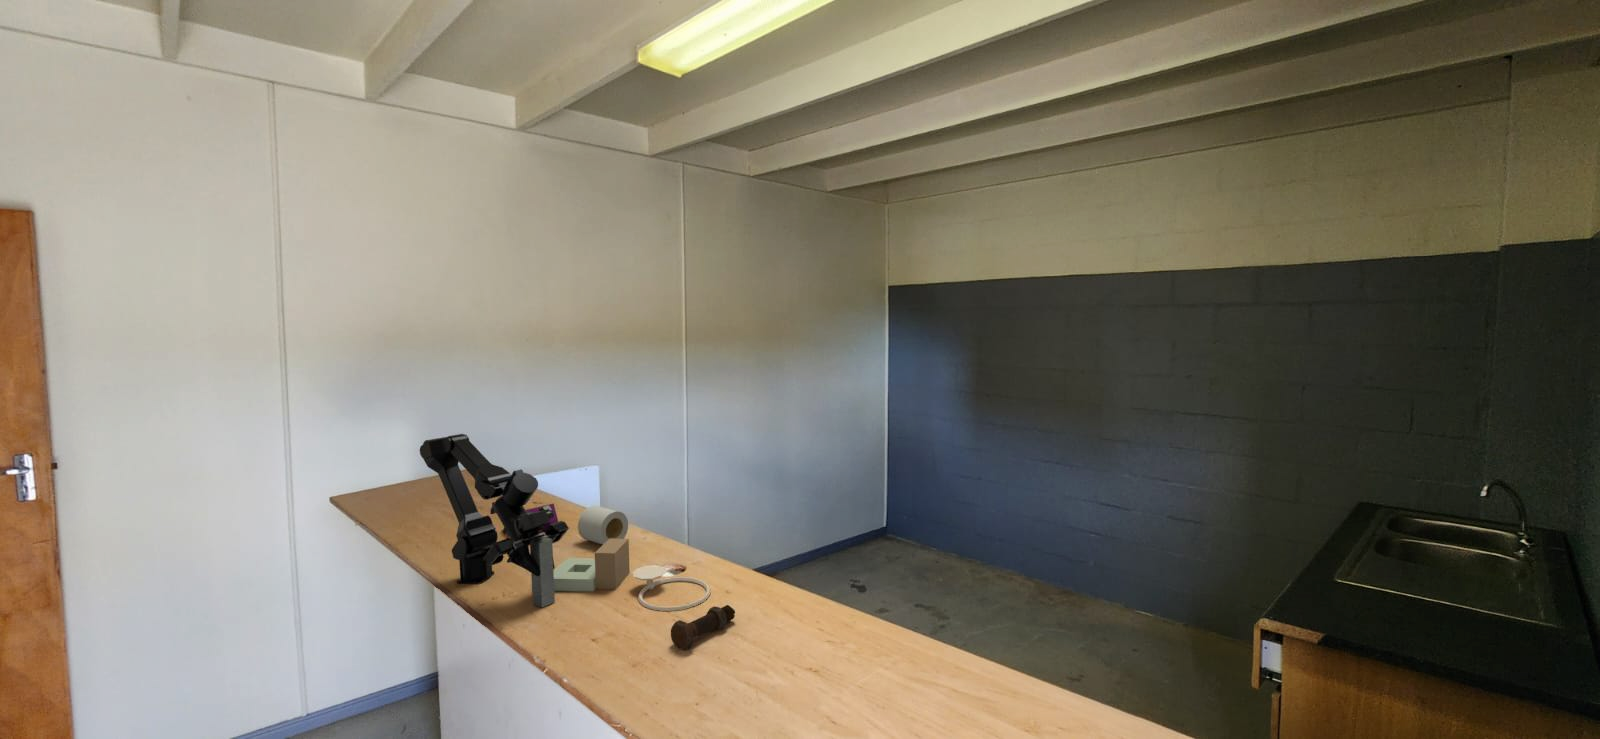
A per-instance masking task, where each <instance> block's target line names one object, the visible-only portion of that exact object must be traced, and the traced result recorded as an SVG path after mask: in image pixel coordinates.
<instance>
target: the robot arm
mask: <svg viewBox="0 0 1600 739" xmlns="http://www.w3.org/2000/svg"><path fill="white" fill-rule="evenodd" d="M419 454H420V456H421V458H422V459H423V461H424V463H425V464H426V467H428V468H429V469H430V470H432V471H434V472H435V473H437V475H438V477H439V479H440V481H441V484H442V486H443V489H444V491H445V493H446V496H447V498H448V500H449V502H450V505H451V507H452V510H453V512H454V514H455V518H456V520H457V522H458V526H457V532H456V539H457V541H456V542H455V544H454V545H453V547H452V549H451V555H452V557H453V559H455V560H457V561H459V577H460V578H458V579H457V580H456V583H458V584H483V582H485V581H486V580H487V579H489V578H490V577H491V576H493V575H494V574H495V571H494V570H493V566H495V565H497V564H500V563H502V562H503V559H504V558H505V557H504V555H507V557H508V559H507V560H506V563H507V564H510V563H512V564H514V565H516V566H518V567H521V568H522V569H524V570H526V571H527V572H529V573H530V574H531V573H532V574H534V575H536V576H539V575H540V574H541V573H540V571H539V569H538V567H537V565H536V563H535V561H534V560H533V558H532V556H531V555H530V541H531V540H534V539H537V538H540V537H542V536H543V537H547V538H550V539H552V545H553V544H555V543H558V542H559V541H561V539H562V538H563V537H564V536H565V534H566V533H567V531H568V530H569V529H570V527H569V526H568V525H567V522H565V521H564V520H563V521H562V520H560V521H559V520H558V522H556V523H553V524H550V525H549V526H548V527H547V529H546V530H545V531H544V532H542V531H541V529H542V528H543V526H542V525H543V524H546V523H550V521H549V519H551V518H553V517H554V513H553V510H552V509H551V508H550V506H549V504H547V505H548V506H544V505H543V506H544V507H542V508H540V509H539V512H536V513H532V512H531V511H530V512H526V510H527V509H525V507H524V506H525V505H526V504H527V503H528V502H529V501H530V500H531V498H532V496H533V495H534V493H535V492H536V491H537V489H538V487H539V481H538V479H537V478H536V477H534V475H532V474H530V473H526V472H524V471H523V469H517V470H513V472H512V473H510V472H509V471H508V470H506V468H504V467H502V466H498V465H495V464H493V463H491V462H490V460H488V459H487V458H486V457H485V456H484V454H482V452H481V451H479V449H478V448H477V447H476V446H475V445H474V444H473V443H472V442H471V441H470V437H469V436H468V435H467V434H464V433H459V434H453V435H448V436H444V437H443V436H442V437H438V438H437V437H436V438H432V439H426V440H424V441H423V443H422V445H421V446H420V447H419ZM459 464H460V465H461V466H463V468H464V469H465V470H466V471H467V473H468V474H470V475H471V477H473V479H474V489H475V490H476V492H477V493H478V495H479V496H480V497H481V499H483V500H485V501H486V500H490V499H494V498H497V499H496V500H495V501H493V502H492V503H491V508H490V515H495V514H496V515H497V518H498V519H499V521H500V522H501V524H502V526H503V527H504V528H503V529H502V530H501V531H502V532H503V534H504V535H506V534H507V535H508V536H509V537H508V538H505V539H503V540H502V539H501V540H498V538H499V536H498V531H497V530H496V529H497V528H496V526H495V525H494V523H493V520H492V517H491V516H490V515H488V514H487V515H483V514H480V512H479V510H478V508H477V506H476V503H475V500H474V498H473V497H472V496H473V495H472V494H471V491H470V490H469V487H468V484H467V482H466V480H465V477H464V475H463V473H462V471H461V468H460V466H459ZM540 531H541V532H540ZM554 561H555V560H554V559H553V571H554V570H555V569H556V568H555V567H556V566H555V562H554Z"/></svg>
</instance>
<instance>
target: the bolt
mask: <svg viewBox="0 0 1600 739" xmlns="http://www.w3.org/2000/svg"><path fill="white" fill-rule="evenodd" d="M735 614H736V610H735V609H734V608H733V607H731V605H730V604H726V605H724V606H722V607H720V606H719V607H718V606H716V605H715V606H712V607H710V608H709V609H708V611H707V612H706V614H705V615H702V616H701V617H699V618H697V619H694V620H693V621H690V622H686V621H684V620H681V619H679V620H676V621H675V622H674V623H673V624H672V626H671V628H670V638H671V642H672V643H673V644H674V647H676V648H677V649H678V650H681V649H682V651H687V650H689V649H691V646H692V645H693V643H694V641H695V639H696V638H699V637H700V636H702V635H705V634H706V633H708V632H711V631H712V630H713V631H716V630H719V631H721V630H723V629H724V627H725V626H726V624H727V623H728V622H730V621H733V620H734V618H735V617H736V616H735Z"/></svg>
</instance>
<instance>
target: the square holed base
mask: <svg viewBox="0 0 1600 739" xmlns="http://www.w3.org/2000/svg"><path fill="white" fill-rule="evenodd" d="M629 543H630V540H629V538H624V539H609V540H607V541H606V542H605V543H604V544H603V545H602V544H601V546H600V547H599V548H598V549H596V551H595V552H594V558H592V557H591V558H590V557H589V558H586V557H584V558H580V557H578V558H577V557H575V558H574V557H567V558H566V559H565V560H564V561H562V562H561V563H560V564H559V565H558V566H557V567H556V568H554V570H553V571H554V592H557V591H558V592H559V591H560V592H593V593H594V592H595V591H596V590H618V587H620V585H621V584H622V583H623V581H625V579H626V578H627V577H628V576H629V574H630V573H631V572H630V571H631V570H630V547H629V546H630V544H629Z"/></svg>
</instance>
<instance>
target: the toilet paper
mask: <svg viewBox="0 0 1600 739" xmlns="http://www.w3.org/2000/svg"><path fill="white" fill-rule="evenodd" d="M628 530H629V521H628V518H627V516H626V514H624V513H623V512H621V511H619V510H614V509H611V508H607V507H603V506H599V505H591V506H589V507H587V508H586V509H585V510H584V511H583V512H582V513H581V514H580V516H579V519H578V523H577V531H578V534H579V536H580V537H581V538H582V539H584V540H587V541H590V542H593V543H596V544H598V545H599V544H600V545H601V546H602V545H603V544H604V543H605V542H606V541H607V540H609V539H626V536H627V533H628Z"/></svg>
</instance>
